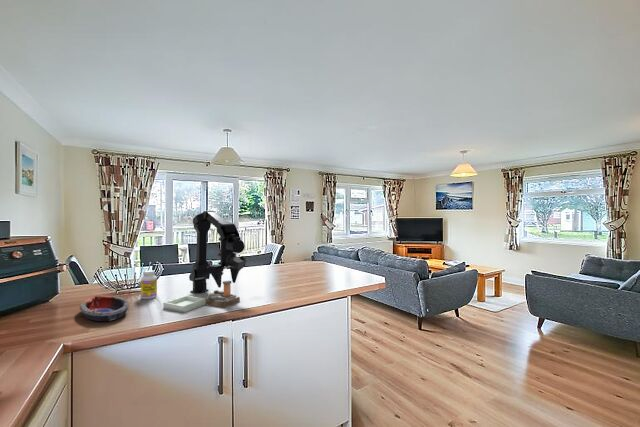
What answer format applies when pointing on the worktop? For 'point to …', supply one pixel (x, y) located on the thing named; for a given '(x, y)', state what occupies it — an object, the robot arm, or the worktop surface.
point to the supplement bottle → (148, 285)
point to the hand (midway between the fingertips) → (226, 285)
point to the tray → (184, 303)
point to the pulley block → (220, 299)
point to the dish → (104, 308)
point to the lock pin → (227, 288)
